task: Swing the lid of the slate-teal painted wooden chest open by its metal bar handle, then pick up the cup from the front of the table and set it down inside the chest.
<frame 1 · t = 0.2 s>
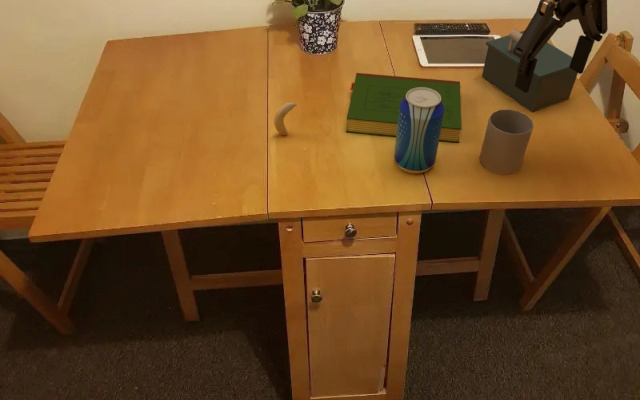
hand: (549, 79, 108), 19 cm above the table, tool pointing down, fingers open, 13 cm apart
cup: (500, 162, 120), on the table
fruit: (286, 135, 126), on the table
chest: (524, 87, 140), on the table
beer can: (413, 163, 120), on the table
lid: (535, 43, 132), point 12 cm above the table, hinge at 0.0°
hardcover book: (402, 113, 133), on the table
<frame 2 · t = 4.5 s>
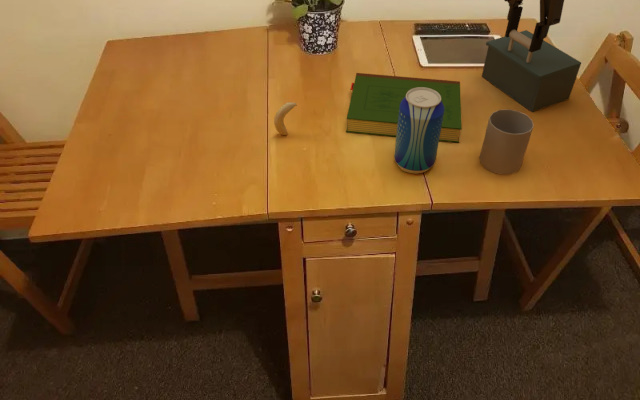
hand: (522, 42, 130), 13 cm above the table, tool pointing down, fingers closed on lid, 7 cm apart
lid: (535, 43, 132), point 12 cm above the table, hinge at 0.0°, touching gripper
everything else where it was.
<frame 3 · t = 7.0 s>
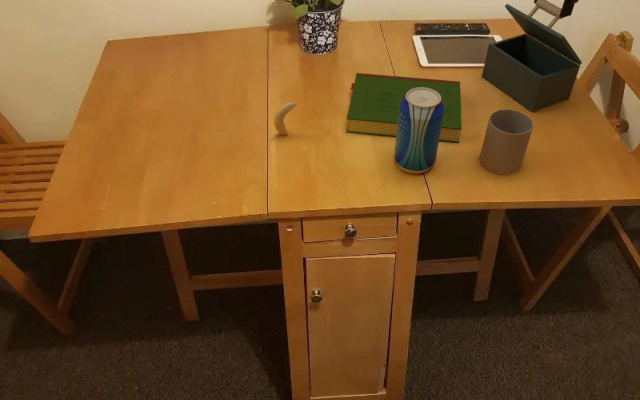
hand: (552, 8, 128), 19 cm above the table, tool pointing down, fingers closed on lid, 7 cm apart
lid: (550, 25, 131), point 15 cm above the table, hinge at 44.1°, touching gripper
everything else where it was.
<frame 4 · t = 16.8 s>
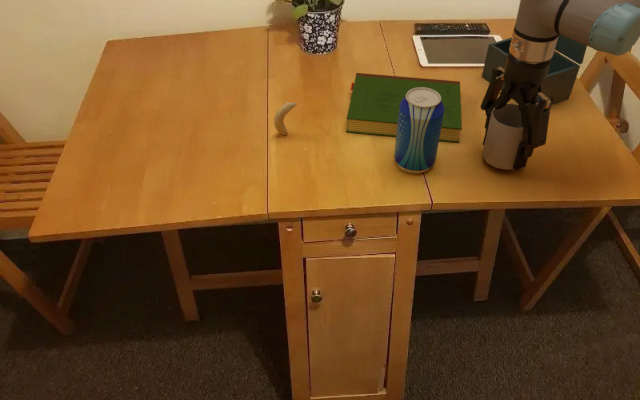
hand: (503, 155, 118), 2 cm above the table, tool pointing down, fingers closed on cup, 8 cm apart
cup: (503, 157, 119), point 1 cm above the table, touching gripper
lid: (566, 19, 132), point 16 cm above the table, hinge at 84.0°
everything else where it was.
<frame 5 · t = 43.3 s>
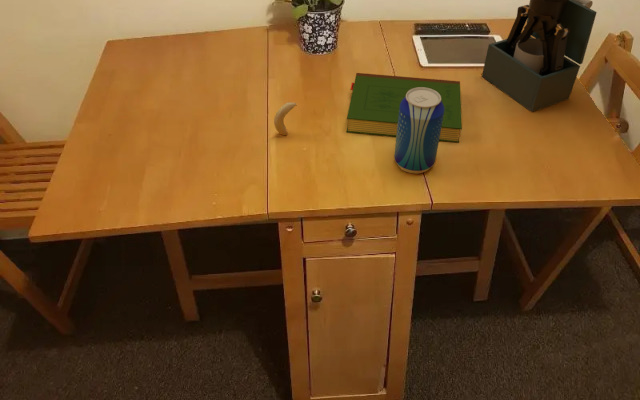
hand: (525, 83, 140), 1 cm above the table, tool pointing down, fingers closed on cup, 8 cm apart
cup: (524, 85, 140), point 1 cm above the table, touching chest, gripper
lid: (566, 19, 132), point 16 cm above the table, hinge at 84.7°
everything else where it was.
when the fingers open (4 cm above the table, at t = 44.4 s): cup drops 3 cm, resting on chest.
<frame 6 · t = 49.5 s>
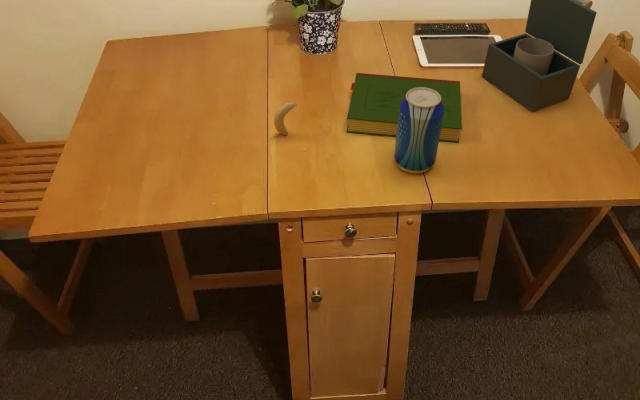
cup: (524, 85, 140), point 1 cm above the table, touching chest
everything else where it was.
at the end: lid at +85° (first picture: +0°); cup inside the target area in the chest (0.0 cm from its centre), point 0.6 cm above the chest's base; cup tilted 0° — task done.
